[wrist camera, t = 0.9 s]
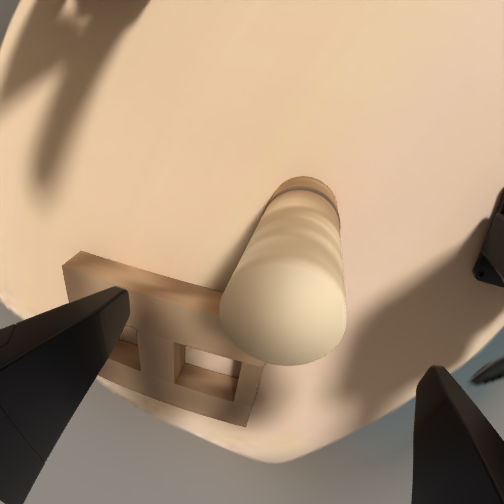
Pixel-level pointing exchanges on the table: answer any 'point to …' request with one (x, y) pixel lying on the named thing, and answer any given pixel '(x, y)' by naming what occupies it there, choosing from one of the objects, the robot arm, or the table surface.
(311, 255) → the dowel
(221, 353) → the board
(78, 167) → the table surface
